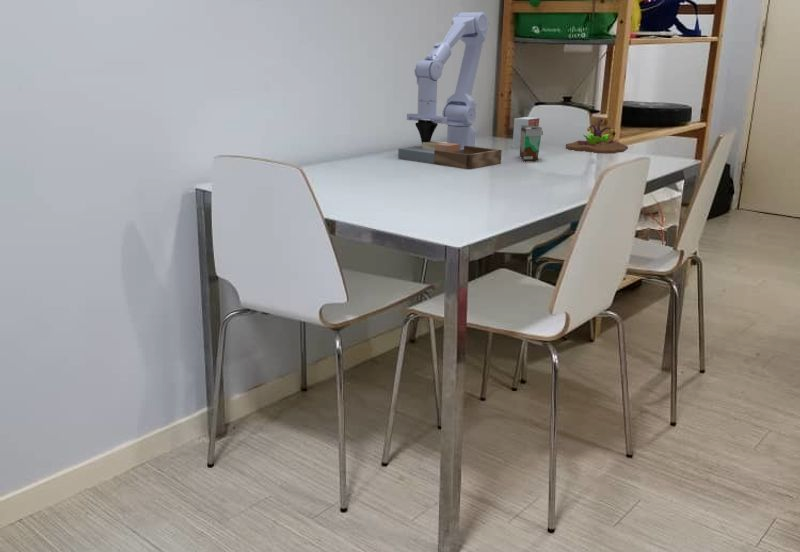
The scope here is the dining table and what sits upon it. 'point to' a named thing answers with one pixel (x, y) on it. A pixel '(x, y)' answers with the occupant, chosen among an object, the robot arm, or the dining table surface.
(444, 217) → the dining table surface
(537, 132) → the food container
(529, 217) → the dining table surface
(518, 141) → the small box
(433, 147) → the birch tile
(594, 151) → the plant
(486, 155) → the tray
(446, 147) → the terracotta tile
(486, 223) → the dining table surface
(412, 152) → the bench plate
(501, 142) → the dining table surface
